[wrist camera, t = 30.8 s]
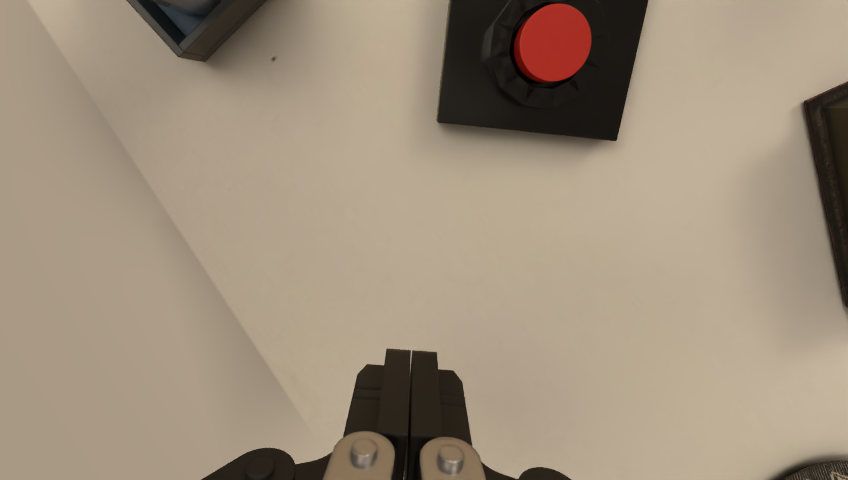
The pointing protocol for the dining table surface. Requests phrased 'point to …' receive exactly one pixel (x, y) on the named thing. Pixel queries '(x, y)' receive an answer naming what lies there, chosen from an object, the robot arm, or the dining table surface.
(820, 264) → the dining table surface
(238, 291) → the dining table surface
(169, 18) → the tray
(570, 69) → the button
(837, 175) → the diary
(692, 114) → the dining table surface
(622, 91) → the control block
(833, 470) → the planter
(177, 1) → the tumbler
